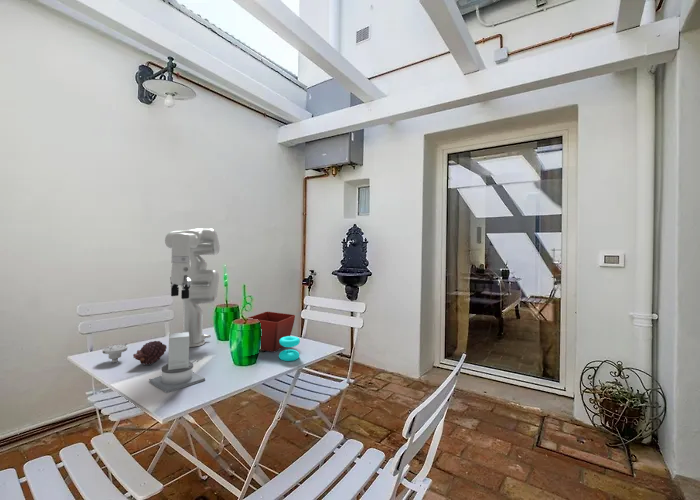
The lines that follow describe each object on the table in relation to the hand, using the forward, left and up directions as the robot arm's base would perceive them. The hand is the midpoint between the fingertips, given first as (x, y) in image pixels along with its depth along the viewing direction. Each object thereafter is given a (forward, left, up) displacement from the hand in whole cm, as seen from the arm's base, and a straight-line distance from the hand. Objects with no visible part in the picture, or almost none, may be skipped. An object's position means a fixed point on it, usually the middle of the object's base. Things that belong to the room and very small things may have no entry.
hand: (179, 297), depth 154 cm
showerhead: (+18, -22, -31) cm, 42 cm away
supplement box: (+10, +20, -24) cm, 33 cm away
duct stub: (+10, +20, -30) cm, 38 cm away
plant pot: (-43, +13, -31) cm, 54 cm away
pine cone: (+8, -8, -31) cm, 33 cm away
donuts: (-38, +33, -31) cm, 59 cm away
